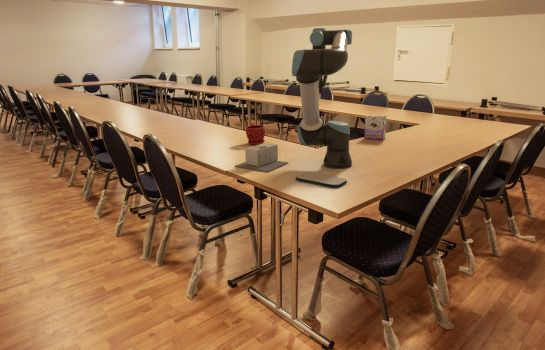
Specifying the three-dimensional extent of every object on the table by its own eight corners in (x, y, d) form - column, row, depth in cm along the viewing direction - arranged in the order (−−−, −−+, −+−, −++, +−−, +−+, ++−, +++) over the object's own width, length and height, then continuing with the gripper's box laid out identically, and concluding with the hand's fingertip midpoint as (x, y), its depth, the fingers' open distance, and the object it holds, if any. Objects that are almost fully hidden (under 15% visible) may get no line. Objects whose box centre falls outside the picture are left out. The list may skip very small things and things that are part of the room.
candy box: (385, 138, 268) (387, 115, 264) (383, 140, 264) (384, 116, 259) (366, 137, 275) (367, 114, 271) (363, 138, 271) (364, 115, 266)
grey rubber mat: (288, 163, 211) (288, 162, 211) (268, 172, 196) (268, 171, 195) (256, 158, 223) (256, 157, 223) (234, 166, 207) (234, 165, 207)
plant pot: (252, 141, 272) (251, 124, 269) (268, 142, 266) (268, 125, 263) (242, 144, 261) (241, 127, 258) (259, 146, 255) (258, 128, 252)
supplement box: (278, 144, 213) (257, 150, 201) (278, 160, 216) (258, 166, 204) (265, 142, 219) (244, 147, 207) (265, 158, 222) (245, 164, 210)
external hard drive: (293, 181, 182) (293, 177, 182) (306, 175, 191) (306, 171, 190) (337, 190, 168) (337, 185, 168) (349, 183, 177) (349, 179, 176)
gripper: (332, 56, 217) (331, 98, 224) (311, 57, 224) (311, 98, 231) (326, 56, 211) (325, 100, 218) (305, 57, 218) (305, 99, 225)
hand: (318, 99), depth 224 cm, fingers closed
